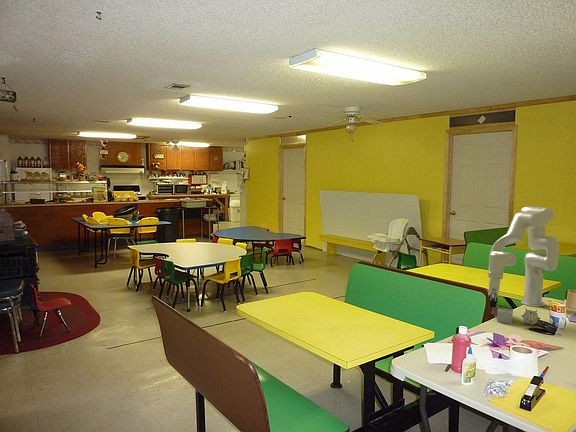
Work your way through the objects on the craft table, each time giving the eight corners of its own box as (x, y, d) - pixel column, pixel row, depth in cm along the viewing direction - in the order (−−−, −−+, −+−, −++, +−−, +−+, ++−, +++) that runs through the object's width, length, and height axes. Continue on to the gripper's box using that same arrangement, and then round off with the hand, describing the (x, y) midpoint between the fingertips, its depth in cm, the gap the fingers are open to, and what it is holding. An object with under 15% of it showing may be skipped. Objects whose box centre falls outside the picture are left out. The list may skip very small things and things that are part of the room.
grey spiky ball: (532, 331, 221) (545, 316, 220) (532, 330, 214) (545, 315, 213) (516, 319, 226) (529, 305, 225) (516, 318, 219) (528, 303, 218)
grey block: (497, 318, 231) (498, 307, 230) (512, 320, 227) (512, 309, 226) (496, 321, 225) (497, 310, 224) (511, 324, 221) (512, 313, 220)
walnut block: (489, 312, 241) (489, 303, 240) (498, 313, 238) (499, 304, 238) (488, 314, 236) (488, 305, 236) (498, 315, 234) (498, 307, 233)
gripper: (489, 271, 244) (487, 300, 246) (486, 277, 229) (484, 307, 231) (503, 273, 241) (501, 302, 242) (502, 279, 226) (499, 310, 227)
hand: (493, 305), depth 236 cm, fingers open, 9 cm apart
